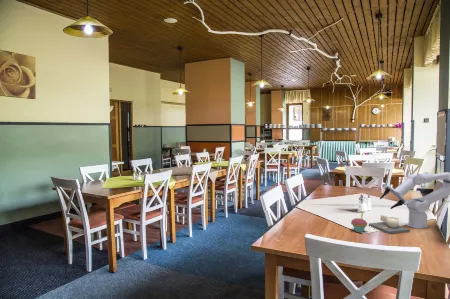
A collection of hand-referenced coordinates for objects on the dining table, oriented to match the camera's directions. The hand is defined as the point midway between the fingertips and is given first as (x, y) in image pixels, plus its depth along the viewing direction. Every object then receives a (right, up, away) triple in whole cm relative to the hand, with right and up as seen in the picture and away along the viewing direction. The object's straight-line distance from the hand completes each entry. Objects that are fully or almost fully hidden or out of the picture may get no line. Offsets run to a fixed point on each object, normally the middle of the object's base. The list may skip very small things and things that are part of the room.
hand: (385, 203), depth 186 cm
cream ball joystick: (+2, -12, -1) cm, 12 cm away
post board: (+1, -15, -1) cm, 15 cm away
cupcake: (-18, -15, -5) cm, 24 cm away
